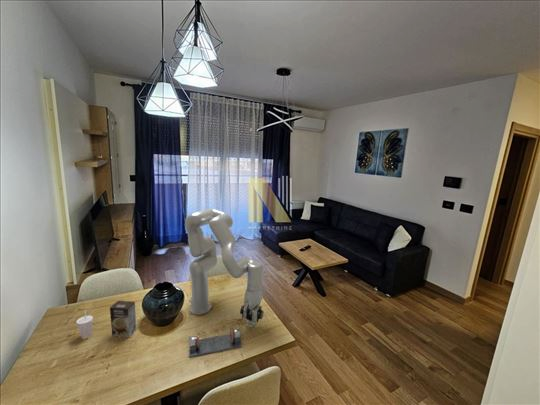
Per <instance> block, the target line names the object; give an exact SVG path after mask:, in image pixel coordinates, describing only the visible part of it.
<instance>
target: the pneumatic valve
mask: <svg viewBox="0 0 540 405" xmlns="http://www.w3.org/2000/svg"><path fill="white" fill-rule="evenodd" d="M244 308H245V307H244V304H242V306H241V307H240V310H239V314H240V315H241V318H242V319H244V320H246V321H245V323H246V326H247V327H249V328H254V327H256V326H257V324H258V323H259V321H260V320H262V319H263V317H264V310H263V308H262V306H261V305H260V306H255V307H254V308H253V309H252V312H251V314H252V320H251V321H250V320H248V319H246V312H244V311H243V310H244ZM248 311H250V309H248Z"/></svg>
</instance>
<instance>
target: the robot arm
mask: <svg viewBox="0 0 540 405" xmlns="http://www.w3.org/2000/svg"><path fill="white" fill-rule="evenodd" d="M233 223H234V221H233V218H232V216H230V214H228V213H225V212H223V211H220V210H217V209H215V208H206V209H202V210H198V211H195V212H191V213H190V214H188V215H187V216H186V218H185V221H184V226H185V230H186V233H187V238H188V240H187V241H188V245H189V246H188V247H189V253H190V255H191V256H192V257H193V258H195V259H194V260H193V261H192V262H190V264H189V267H188V268H189V269H188V270H189V275H190V280H191V297H190V298H189V300H188V302H190V306H189V312H190V313H191V314H192V315H196V316H200V315H205V314H207V313H208V312H210V311H211V309H212V304H211V302H209V291H210V290H209V278H208V277H207V273H208V272H209V271H211V270H212V269H213V270H214V268H215V267H216V266H217V264H218V257H217V256H218V255H217V249H216V242H215V240H214V239H213V238H212V237H211V236H205V235H204V231H203V229H202V228H201V227H203V226H207V225H209V226H208V227H209V229H210V230H211V232H212V234H213V236H214V237H215V239H216V241H217V243H218V244H219V246H220V247H221V260H222V263H223V266H224V267H225V270H226V271H227V273H228V274H229V275H230V276H231V277H232V278H234V279H238V278H241V277H242V276H244V275H245V274H247V280H246V290H245V293H244V298H243V300H244V301H243V305H244V307H245V308H244V310H243V311H244V312H246V319H245V320H247V319H248V320H250V321H251V320H252V314H251V312H252V309H253V308H254V307H255V306H261V302H262V299H263V296H262V295H263V291H262V290H263V289H262V285H263V284H262V283H263V270H264V268H263V267H264V266H263V264H262V262H260V261H255V260H254V259H251V258H250V257H247V256H243V257H241V258H240V259H238V260H236V259H235V257H234V253H233V247H234V245H235V243H236V240H237V239H236V237H235V236H234V234H233V232H232V230H231V229H230V228H231V227H232V226H233ZM248 309H250V311H248Z"/></svg>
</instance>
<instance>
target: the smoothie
mask: <svg viewBox="0 0 540 405" xmlns="http://www.w3.org/2000/svg"><path fill="white" fill-rule="evenodd" d="M93 320H94V316H93V315H87V310H84V316H82V317H80V318H78V319H77V320H76V325H77V328H78V330H79V334H80V337H81V339H82V338H87V337H89V336H91V337H92V329H93Z"/></svg>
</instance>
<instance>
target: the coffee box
mask: <svg viewBox="0 0 540 405" xmlns="http://www.w3.org/2000/svg"><path fill="white" fill-rule="evenodd" d="M109 314H110V325H111V327H110V328H111V337H112V336H120V337H119V338H127V337H130V336H131V337H132V336H133V334H134V333H135V332H136V331H137V320H136V318H137V317H136V301H129V300H117V301H116V302H115V303H113V304H112V305H111V306H110V307H109ZM135 330H136V331H135ZM134 331H135V332H134ZM131 337H130V338H131Z"/></svg>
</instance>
